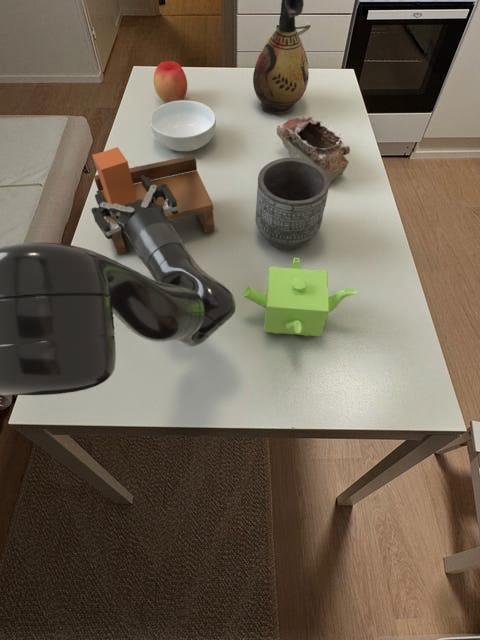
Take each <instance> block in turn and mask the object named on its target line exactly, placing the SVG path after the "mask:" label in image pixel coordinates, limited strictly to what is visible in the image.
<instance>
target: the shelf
mask: <svg viewBox="0 0 480 640" xmlns="http://www.w3.org/2000/svg"><path fill="white" fill-rule="evenodd" d="M129 170H130V174H131V178H132V182H133V186H134V190H135V194H136V198H137V200H140V199H141V200H144V198H145V195H146V193H147V191H146V190H145V188H144V187H143V185H142V182H141V177H140V176H143V175H144V176H145V177H149V178H150V179H151V181H152V182H153V184H154V185H156V186H157V187H159V186H161V184H167V186H168V188H169V189H170V191H171V192H172V194H173V196H174V197H175V199H176V201H177V206H178V214H172V212H169V213H166V214H165V216H166V217H167V218H168V220H169V221H173V220H177V219H182V218H186V217H190V216H194V215H197V216H198V219H199V220H200V221H199V222H200V223H201V225H202V227H203V230H204V232H205V233H210V232H214V231H215V223H214V221H215V220H214V203H213V201H212V199H211V197H210V195H209V193H208V190H207V188H206V186H205V185H204V182H203V180H202V178H201V176H200V174H199V172H198V167H197V158H196V157H195V155H194V154H192V155H191V154H190V155H187V156H181V157H176V158H172V159H167V160H162V161H158V162H153V163H148V164H144V165H139V166H134V167H129ZM93 178H94V182H95V185H96V188H97V191H98V190H101V192H102V194H103V195H104V197H105V199H106V196H105V193H104V190H103V187H102V184H101V180H100V177H99V174H96V175H93ZM106 200H107V199H106ZM164 202H165V201H164V199H163V197H159V198H158V201H157V204H159V205H161V206H162V207H163V206H164V205H165V204H164ZM107 203H108V202H107ZM105 219H106V221H107V220H109V221H110V222H112V223H113V224H117V222H115V221H114V220H113V219H110V218H107V217H105ZM111 240H112V243H113V245H114V249H115V252H116V254H117V255H122V254H126V253H127V249H126V245H125V242H124V241H125V240H124V238H123V232H122V231H118V232H115V233H113V237H112V238H111Z"/></svg>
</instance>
